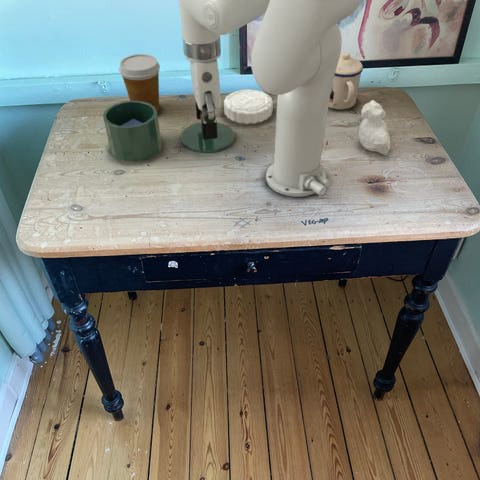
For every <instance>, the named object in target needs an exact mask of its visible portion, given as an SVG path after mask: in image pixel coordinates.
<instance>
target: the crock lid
mask: <svg viewBox="0 0 480 480" xmlns="http://www.w3.org/2000/svg"><path fill="white" fill-rule="evenodd" d="M200 114H201V119H200V122H196V123H193V124H191V125H189V126H187V127H186V128H185V129H183V130H182V132H181V134H180V141H181V144H182V145H183V147H185V148H186V149H187V150H190V151H192V152H195V153H200V154H201V153H202V154H211V153H217V152H221V151H224V150H226V149H228V148H229V147H231V145H232V144H233V143H234V141H235V138H236V137H235V132H234V130H233V129H232V127H230V126H228V125H227V124H224V123H222V122H218V121H217V138H215V139H206V140H204V139H203V132H202V122H203V116H202V111H201V113H200ZM206 115H208V114H207V111H205V116H206Z"/></svg>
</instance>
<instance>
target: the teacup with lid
mask: <svg viewBox="0 0 480 480" xmlns="http://www.w3.org/2000/svg"><path fill="white" fill-rule="evenodd" d="M363 70H364V67H363V64H362V62H361V61H360V60H358V59H357V58H354V57H352V56H351V54H350V53H349V52H348V51H347V52H346V51H345V52H342V53H341V54H340V57H339V61H338V65H337V68H336V72H335V75H334V79H333V82H332V87H331V92H330V98H329V105H328V108H329V109H333V110H347V109H350V108H353V107H354V106H355V105H356V103H357V98H358V93H359V87H360V81H361V75H362V72H363Z"/></svg>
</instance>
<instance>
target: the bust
mask: <svg viewBox="0 0 480 480" xmlns="http://www.w3.org/2000/svg"><path fill="white" fill-rule="evenodd" d="M360 114H361V115H360V116H361V118H362V120H361V123H360V127H359V130H358V141H359V143H360V144H361V146H362V147H363V149H364V150H367V151H370V152H377V153H379V154H381V155H383V156H387V155H388V154H389V152H390V149H391V139H390V135H389V130H388V127H387V123H386V122H385V121H384V120H383V118H385V117H386V116H387V112H386V111H385V110H384V109H383V106H382V105H381V104H380V103H378V102H377V101H376V100H374V99H372V100H370V101H369V102H367V103H365V104H364V105H363V107H362V109H361V112H360Z"/></svg>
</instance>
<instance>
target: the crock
mask: <svg viewBox="0 0 480 480" xmlns="http://www.w3.org/2000/svg"><path fill="white" fill-rule="evenodd" d="M102 118H103V124H104V127H105V131H106V135H107V140H108V144H109V145H108V146H109V149H110V153H111V155H112V156H114V157H115V158H116V159H118V160H120V161H123V162H134V163H135V162H142V161H146V160H149V159H151V158H154V157H155V156H156V155H158V154H159V153H160V151H161V149H162V147H163V145H162V136H161V131H160V124H159V117H158V112H157V111H156V108H155V107H154V106H153V105H151V104H150V103H146V102H143V101H130V100H125V101H120V102H118V103H115V104H111V106H109V107H108V108H106V109H105V110H104V112H103V114H102ZM132 119H135V120H137V121H139V122H141V123H142V124H139V125H134V126H121V125H123V124H125V123H126V122H128V121H130V120H132Z"/></svg>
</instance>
